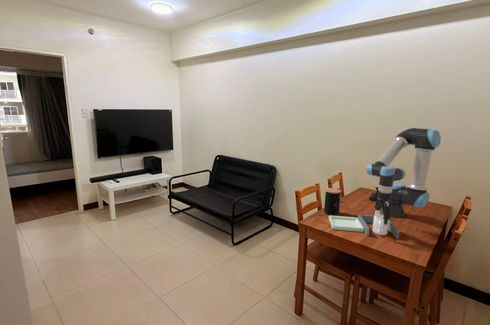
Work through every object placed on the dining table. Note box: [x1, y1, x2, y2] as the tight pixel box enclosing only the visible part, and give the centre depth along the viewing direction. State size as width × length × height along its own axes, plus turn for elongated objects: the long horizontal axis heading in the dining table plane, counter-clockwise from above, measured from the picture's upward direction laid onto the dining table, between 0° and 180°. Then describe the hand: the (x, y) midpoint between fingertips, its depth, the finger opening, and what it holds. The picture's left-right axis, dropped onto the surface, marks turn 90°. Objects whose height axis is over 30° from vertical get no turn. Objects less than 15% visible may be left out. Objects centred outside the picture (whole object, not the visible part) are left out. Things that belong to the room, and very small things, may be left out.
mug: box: [372, 213, 389, 236], centre depth 165 cm, size 9×12×11 cm
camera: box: [368, 184, 379, 203], centre depth 226 cm, size 16×14×15 cm
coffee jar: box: [323, 187, 342, 216], centre depth 196 cm, size 11×11×18 cm
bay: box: [357, 214, 400, 240], centre depth 171 cm, size 18×22×5 cm
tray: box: [328, 215, 365, 233], centre depth 177 cm, size 19×17×2 cm
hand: (380, 224), depth 164 cm, fingers open, 13 cm apart
